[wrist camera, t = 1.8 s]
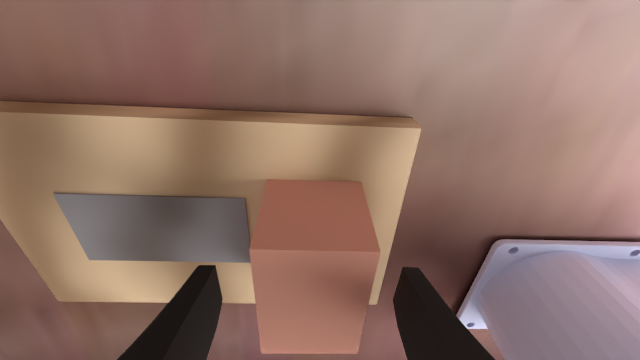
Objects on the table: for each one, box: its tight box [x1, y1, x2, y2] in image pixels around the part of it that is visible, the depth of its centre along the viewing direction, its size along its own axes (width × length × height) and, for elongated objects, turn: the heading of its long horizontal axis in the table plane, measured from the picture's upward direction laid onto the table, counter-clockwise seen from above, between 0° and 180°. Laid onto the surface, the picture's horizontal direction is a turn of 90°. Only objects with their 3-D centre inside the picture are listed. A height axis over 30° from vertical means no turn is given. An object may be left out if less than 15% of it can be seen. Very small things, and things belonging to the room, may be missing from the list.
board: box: [0, 101, 421, 305], centre depth 14 cm, size 18×11×1 cm, turn 87°
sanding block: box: [249, 179, 381, 354], centre depth 12 cm, size 4×6×4 cm, turn 177°
